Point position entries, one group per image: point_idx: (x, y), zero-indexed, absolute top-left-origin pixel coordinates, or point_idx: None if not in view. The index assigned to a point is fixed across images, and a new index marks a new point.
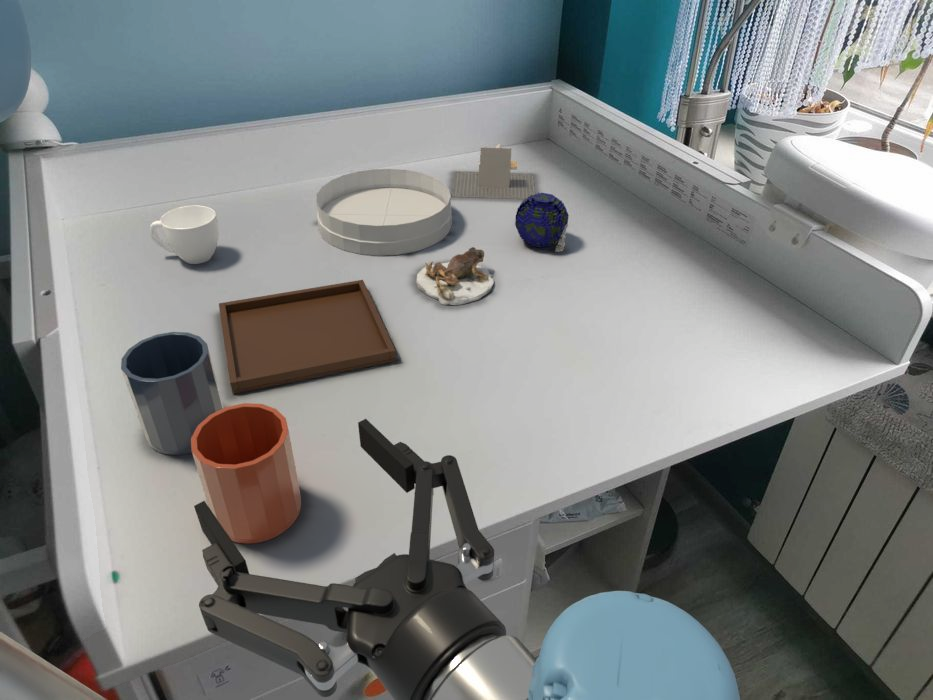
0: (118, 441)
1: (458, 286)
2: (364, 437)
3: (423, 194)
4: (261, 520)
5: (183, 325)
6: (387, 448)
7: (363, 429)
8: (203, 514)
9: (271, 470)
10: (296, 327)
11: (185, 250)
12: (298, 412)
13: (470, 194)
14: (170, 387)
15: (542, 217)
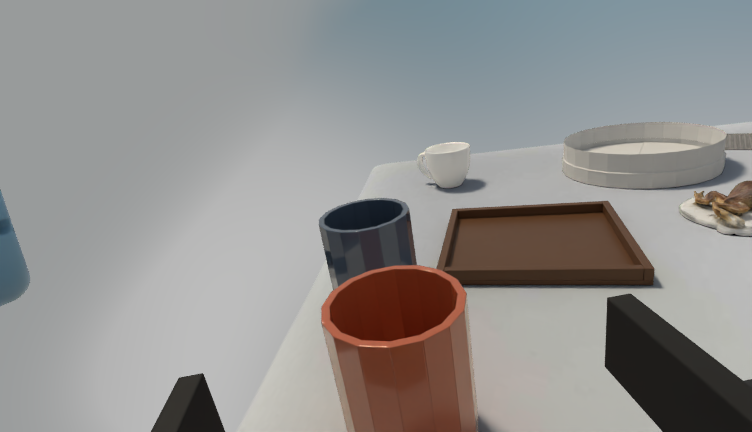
0: (317, 304)
1: (748, 217)
2: (622, 341)
3: (683, 145)
4: None
5: (418, 225)
6: (717, 385)
7: (622, 316)
8: (171, 405)
9: (420, 370)
10: (523, 235)
11: (439, 173)
12: (505, 317)
13: (745, 147)
14: (353, 242)
15: None
